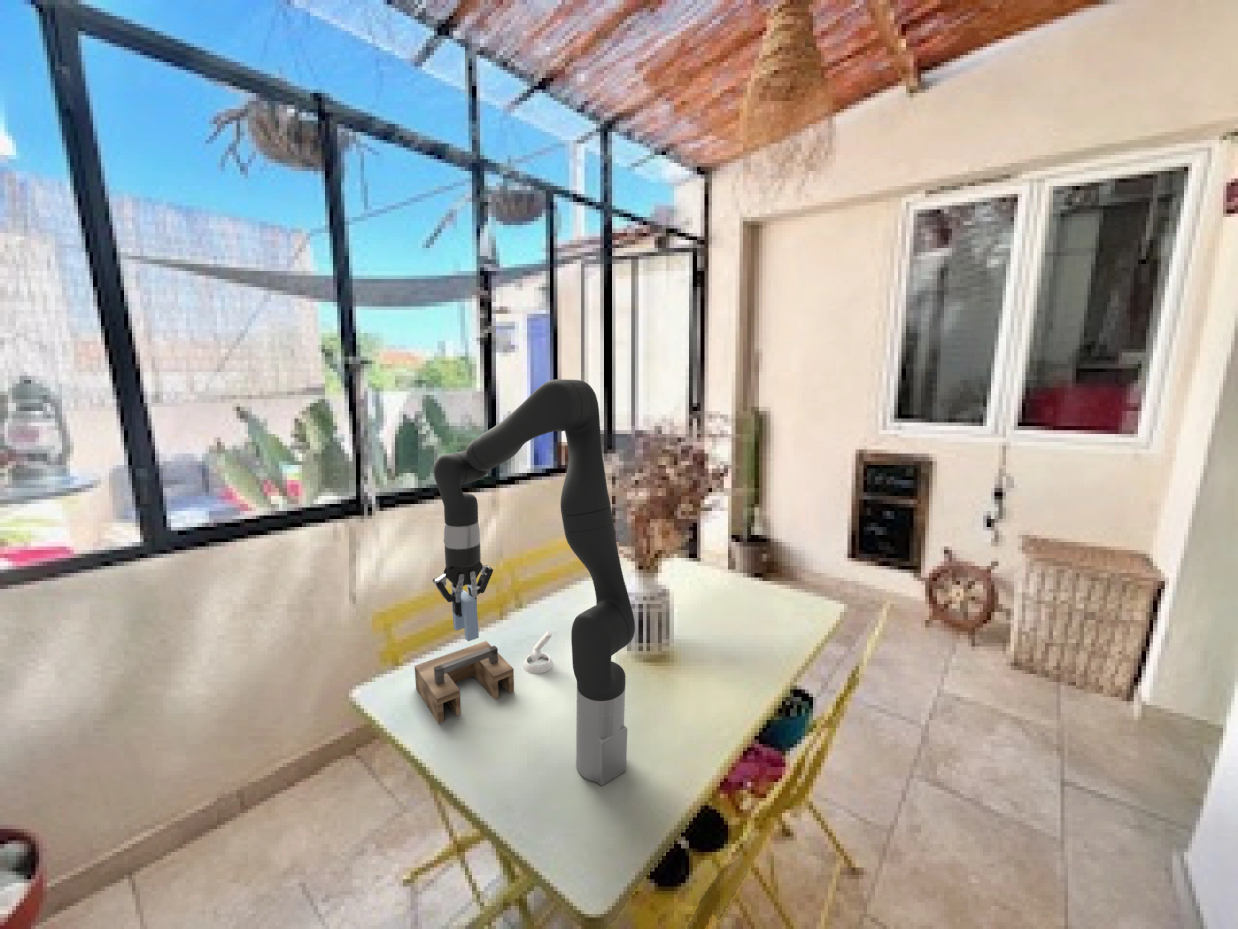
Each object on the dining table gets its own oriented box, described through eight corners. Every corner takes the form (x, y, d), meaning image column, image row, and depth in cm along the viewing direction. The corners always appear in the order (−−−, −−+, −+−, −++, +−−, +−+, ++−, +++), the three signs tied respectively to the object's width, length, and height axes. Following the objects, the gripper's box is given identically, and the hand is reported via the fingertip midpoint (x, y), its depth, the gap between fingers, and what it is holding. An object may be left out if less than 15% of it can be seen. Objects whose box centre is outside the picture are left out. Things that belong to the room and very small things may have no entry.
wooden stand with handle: (513, 691, 120) (513, 655, 118) (438, 723, 109) (436, 684, 107) (486, 661, 131) (485, 628, 129) (416, 688, 120) (413, 652, 118)
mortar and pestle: (569, 656, 126) (546, 645, 123) (542, 686, 129) (519, 676, 127) (569, 635, 132) (547, 623, 130) (543, 664, 136) (521, 653, 133)
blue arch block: (478, 637, 113) (476, 599, 111) (468, 641, 111) (465, 602, 110) (464, 624, 119) (461, 588, 118) (453, 628, 118) (451, 591, 116)
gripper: (436, 553, 104) (440, 630, 107) (499, 540, 112) (500, 611, 116) (424, 543, 109) (428, 616, 113) (484, 530, 118) (486, 599, 121)
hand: (465, 613), depth 114 cm, fingers closed on blue arch block, 2 cm apart
